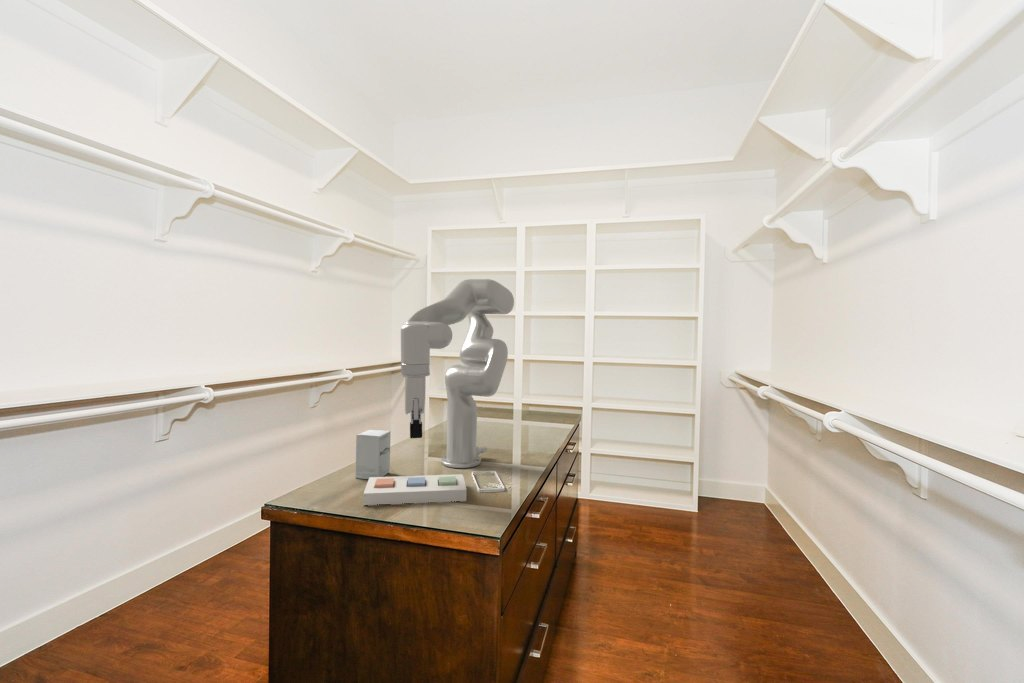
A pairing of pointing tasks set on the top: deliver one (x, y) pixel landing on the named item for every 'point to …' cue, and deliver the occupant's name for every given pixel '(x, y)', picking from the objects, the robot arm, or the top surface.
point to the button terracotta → (384, 483)
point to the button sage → (447, 480)
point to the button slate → (416, 482)
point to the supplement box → (372, 454)
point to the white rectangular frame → (489, 489)
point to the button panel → (415, 491)
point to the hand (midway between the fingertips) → (416, 437)
